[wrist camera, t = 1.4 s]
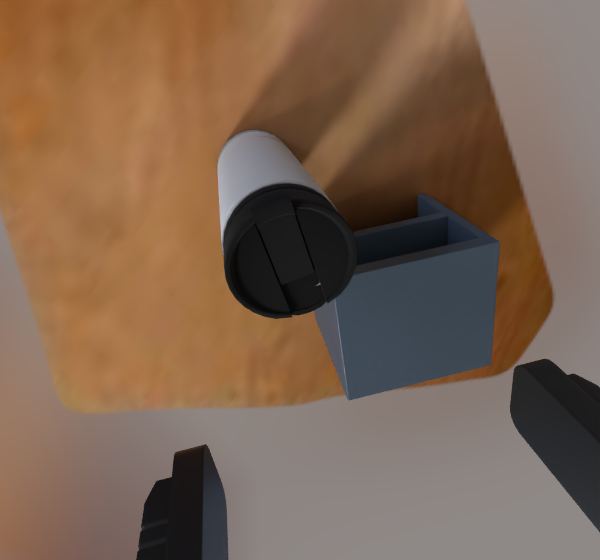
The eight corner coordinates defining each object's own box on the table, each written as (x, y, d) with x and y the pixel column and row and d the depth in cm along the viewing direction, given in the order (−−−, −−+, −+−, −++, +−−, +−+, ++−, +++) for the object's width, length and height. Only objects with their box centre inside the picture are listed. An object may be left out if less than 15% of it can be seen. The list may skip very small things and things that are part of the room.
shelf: (299, 219, 40) (331, 279, 29) (425, 192, 41) (500, 241, 30) (316, 319, 45) (348, 400, 34) (427, 293, 46) (491, 364, 35)
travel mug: (276, 113, 35) (341, 172, 18) (301, 189, 38) (377, 302, 21) (203, 140, 35) (195, 227, 18) (234, 214, 38) (254, 349, 21)
